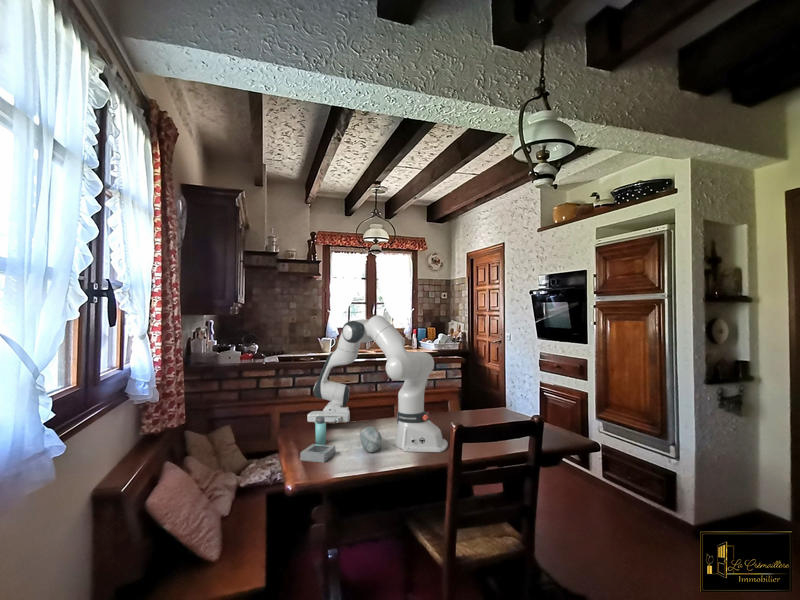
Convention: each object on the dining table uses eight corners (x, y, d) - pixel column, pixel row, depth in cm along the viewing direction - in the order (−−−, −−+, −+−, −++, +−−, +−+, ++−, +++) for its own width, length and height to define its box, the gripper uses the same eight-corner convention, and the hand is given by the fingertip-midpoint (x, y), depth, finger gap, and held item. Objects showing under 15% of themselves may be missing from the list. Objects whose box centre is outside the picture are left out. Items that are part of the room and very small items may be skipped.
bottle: (327, 442, 170) (327, 417, 170) (323, 445, 166) (323, 419, 166) (318, 441, 171) (318, 416, 172) (313, 445, 167) (313, 419, 167)
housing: (335, 453, 157) (335, 445, 157) (324, 462, 147) (324, 454, 147) (312, 451, 160) (312, 443, 160) (300, 460, 150) (300, 452, 150)
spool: (355, 435, 169) (366, 416, 168) (374, 444, 171) (385, 425, 169) (354, 454, 156) (366, 433, 154) (375, 463, 157) (387, 443, 156)
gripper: (310, 407, 195) (303, 414, 181) (351, 406, 195) (347, 414, 181) (310, 419, 195) (303, 428, 181) (351, 419, 195) (347, 428, 181)
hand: (326, 421), depth 181 cm, fingers open, 8 cm apart
